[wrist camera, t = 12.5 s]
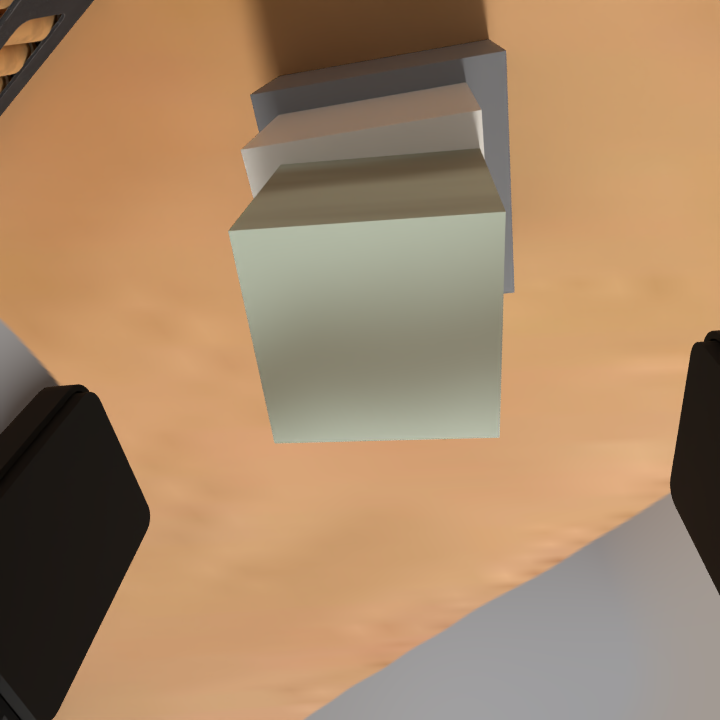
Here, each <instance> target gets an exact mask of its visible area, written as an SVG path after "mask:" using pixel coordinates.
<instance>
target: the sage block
mask: <svg viewBox="0 0 720 720" xmlns="http://www.w3.org/2000/svg"><path fill="white" fill-rule="evenodd" d="M505 221H506V211H505V209H504V206H503V204H502V201H501V199H500V196H499V194H498V191H497V189H496V186H495V184H494V182H493V179H492V177H491V174H490V172H489V169H488V167H487V164H486V162H485V159H484V157H483V154H482V152H481V150H480V148H476V149H464V150H452V151H440V152H428V153H416V154H404V155H392V156H380V157H368V158H356V159H344V160H332V161H320V162H308V163H296V164H284V165H280V166H279V167H278V169H277V170H276V171H275V172H274V174H273V175H272V176H271V177H270V179H269V180H268V181H267V183H266V184H265V185H264V186H263V188H262V189H261V190H260V191H259V193H258V194H257V195H256V197H255V198H254V199H253V200H252V202H251V203H250V204H249V205H248V207H247V208H246V209H245V211H244V212H243V213H242V214H241V216H240V217H239V218H238V219H237V221H236V222H235V223H234V224H233V226H232V227H231V228H230V230H229V231H228V232H229V236H230V241H231V246H232V250H233V255H234V259H235V264H236V268H237V273H238V278H239V282H240V287H241V291H242V296H243V300H244V305H245V310H246V314H247V319H248V323H249V328H250V333H251V337H252V342H253V346H254V351H255V355H256V360H257V365H258V369H259V374H260V378H261V383H262V388H263V392H264V397H265V401H266V406H267V410H268V415H269V420H270V424H271V429H272V433H273V438H274V443H306V442H344V441H383V440H422V439H460V438H499V436H500V400H501V364H502V328H503V292H504V256H505Z"/></svg>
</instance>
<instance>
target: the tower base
mask: <svg viewBox="0 0 720 720" xmlns="http://www.w3.org/2000/svg"><path fill="white" fill-rule="evenodd" d="M464 82H466V83H467V85H468V87H469V88H470V90H471V92H472V94H473V95H474V97H475V99H476V101H477V103H478V104H479V106H480V108H481V110H482V125H483V141H484V157H485V162H486V164H487V167H488V169H489V172H490V174H491V177H492V179H493V182H494V184H495V186H496V189H497V191H498V194H499V196H500V199H501V201H502V204H503V206H504V209H505V211H506V221H505V256H504V292H503V294H504V293H513V292H514V266H513V237H512V208H511V179H510V150H509V122H508V93H507V64H506V50H504V49H503V48H501V47H500V46H498V45H497V44H495V43H494V42H492V41H491V40H489V39H488V40H482V41H476V42H471V43H465V44H459V45H454V46H448V47H442V48H436V49H431V50H425V51H419V52H414V53H408V54H402V55H397V56H391V57H385V58H380V59H374V60H368V61H362V62H357V63H351V64H345V65H340V66H334V67H328V68H323V69H317V70H311V71H306V72H300V73H294V74H288V75H283V76H278V77H277V78H275V79H274V80H272V81H271V82H269V83H268V84H266V85H265V86H263V87H261V88H260V89H258V90H257V91H255V92H254V93H252V94H251V95H250V96H251V100H252V104H253V109H254V113H255V117H256V121H257V125H258V130H259V133H260V132H261V131H262V130H263V129H264V128H265V127H266V126H267V125H268V124H269V123H270V122H271V121H272V120H274V119H275V118H276V117H277V116H278V115H280V114H286V113H292V112H297V111H303V110H309V109H315V108H320V107H326V106H332V105H338V104H343V103H349V102H355V101H361V100H366V99H372V98H378V97H384V96H389V95H395V94H401V93H407V92H412V91H418V90H424V89H430V88H435V87H441V86H447V85H453V84H458V83H464Z"/></svg>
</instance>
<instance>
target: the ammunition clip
mask: <svg viewBox="0 0 720 720" xmlns="http://www.w3.org/2000/svg"><path fill="white" fill-rule="evenodd" d="M93 1H94V0H0V116H1V115H2V113H3V112H4V111H5V110H6V108H7V107H8V106H9V105H10V103H11V102H12V101H13V100H14V98H15V97H16V96H17V95H18V94H19V92H20V91H21V90H22V89H23V87H24V86H25V85H26V84H27V82H28V81H29V80H30V79H31V77H32V76H33V75H34V74H35V72H36V71H37V70H38V69H39V68H40V66H41V65H42V64H43V63H44V61H45V60H46V59H47V58H48V56H49V55H50V54H51V53H52V51H53V50H54V49H55V48H56V46H57V45H58V44H59V43H60V42H61V40H62V39H63V38H64V37H65V35H66V34H67V33H68V32H69V30H70V29H71V28H72V27H73V25H74V24H75V23H76V22H77V20H78V19H79V18H80V17H81V16H82V14H83V13H84V12H85V11H86V9H87V8H88V7H89V6H90V4H91V3H92V2H93Z"/></svg>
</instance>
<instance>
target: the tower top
mask: <svg viewBox="0 0 720 720" xmlns="http://www.w3.org/2000/svg"><path fill="white" fill-rule="evenodd" d="M476 148H480V150H481V152H482V154H483V157H484V141H483V125H482V110H481V108H480V106H479V104H478V103H477V101H476V99H475V97H474V95H473V94H472V92H471V90H470V88H469V87H468V85H467V83H466V82H464V83H458V84H453V85H447V86H441V87H435V88H430V89H424V90H418V91H412V92H407V93H401V94H395V95H389V96H384V97H378V98H372V99H366V100H361V101H355V102H349V103H343V104H338V105H332V106H326V107H320V108H315V109H309V110H303V111H297V112H292V113H286V114H280V115H278V116H277V117H276V118H275V119H274V120H272V121H271V122H270V123H269V124H268V125H267V126H266V127H265V128H264V129H263V130H262V131H261V132H260V133H258V134H257V135H256V136H255V137H254V138H253V139H252V140H251V141H250V142H249V143H248V144H247V145H246V146H244V147H243V148H242V149H241V153H242V156H243V160H244V164H245V168H246V172H247V175H248V179H249V183H250V187H251V191H252V194H253V198H255V197H256V195H257V194H258V193H259V191H260V190H261V189H262V188H263V186H264V185H265V184H266V183H267V181H268V180H269V179H270V177H271V176H272V175H273V174H274V172H275V171H276V170H277V169H278V167H279V166H280V165H284V164H296V163H308V162H320V161H332V160H344V159H356V158H368V157H380V156H392V155H404V154H416V153H428V152H440V151H452V150H464V149H476ZM484 159H485V157H484Z"/></svg>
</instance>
